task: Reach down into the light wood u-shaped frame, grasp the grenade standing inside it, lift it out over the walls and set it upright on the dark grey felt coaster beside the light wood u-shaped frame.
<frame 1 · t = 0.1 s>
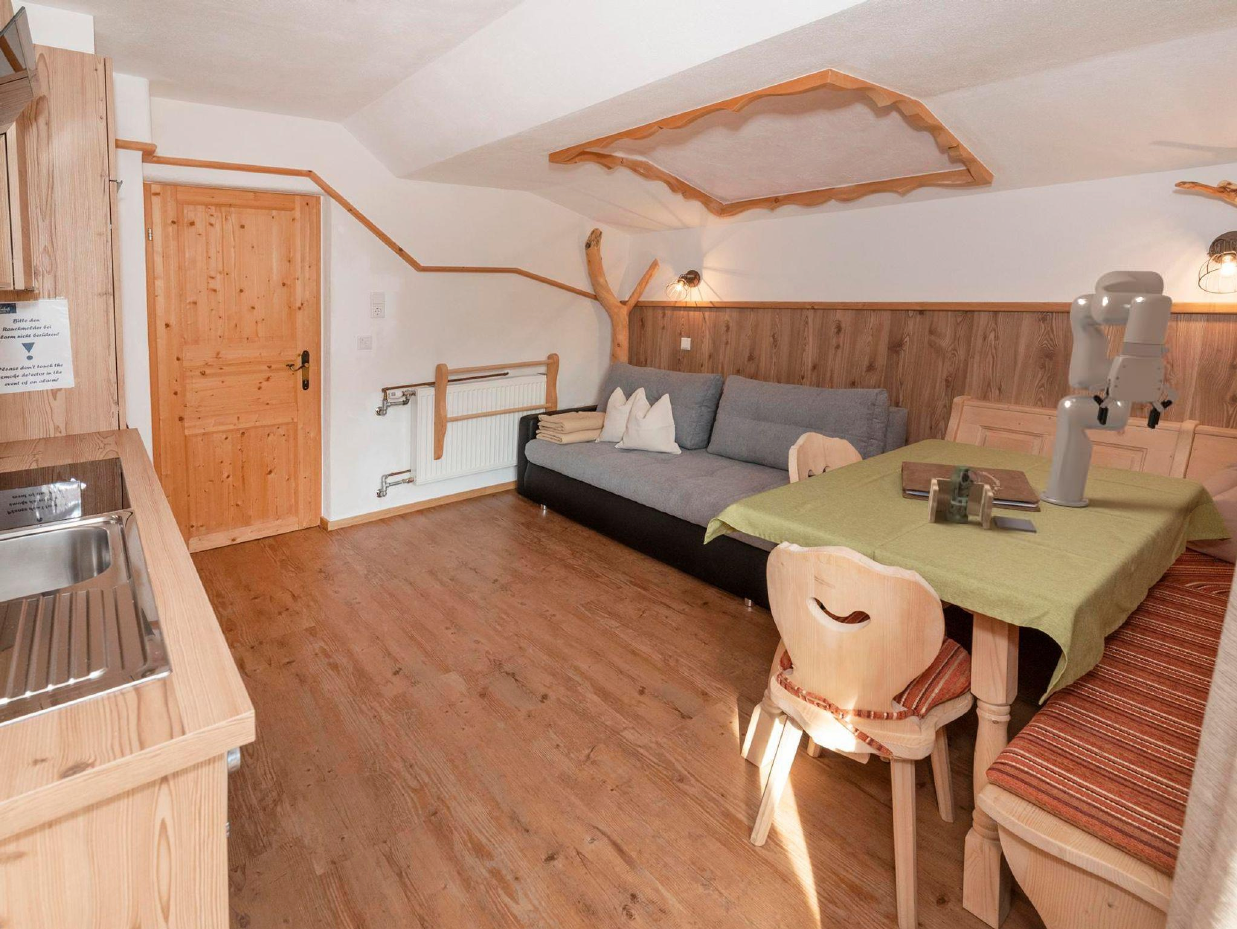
hand: (1126, 425, 168), 31 cm above the table, tool pointing down, fingers open, 9 cm apart
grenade: (957, 522, 197), on the table
light wood u-shaped frame: (957, 519, 198), on the table
coaster: (1014, 525, 195), on the table
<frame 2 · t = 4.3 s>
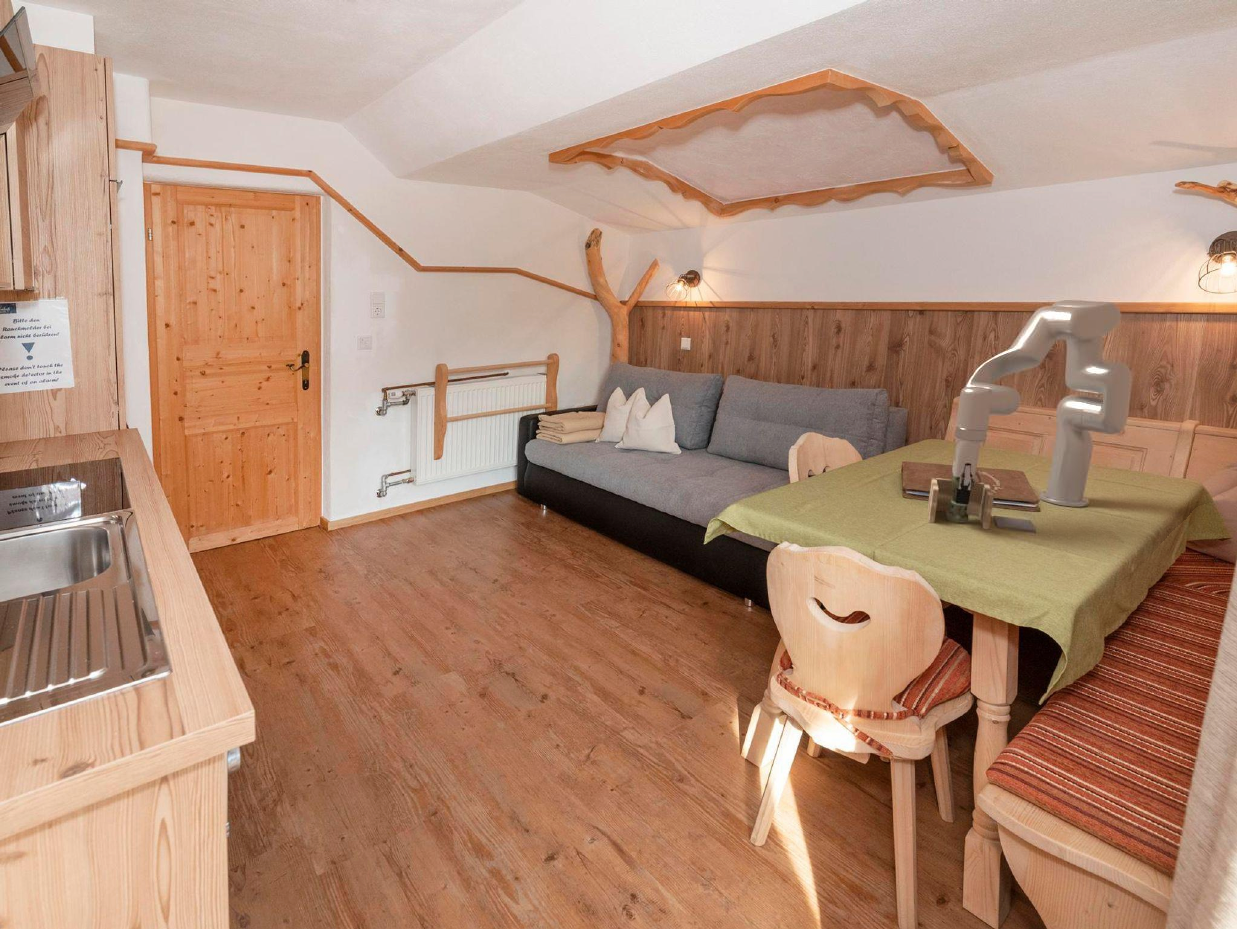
hand: (960, 499, 195), 6 cm above the table, tool pointing down, fingers closed on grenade, 6 cm apart
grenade: (957, 521, 197), on the table, touching gripper
when the fingers open (8 cm above the table, at t = 11.0 s): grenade drops 1 cm, resting on coaster.
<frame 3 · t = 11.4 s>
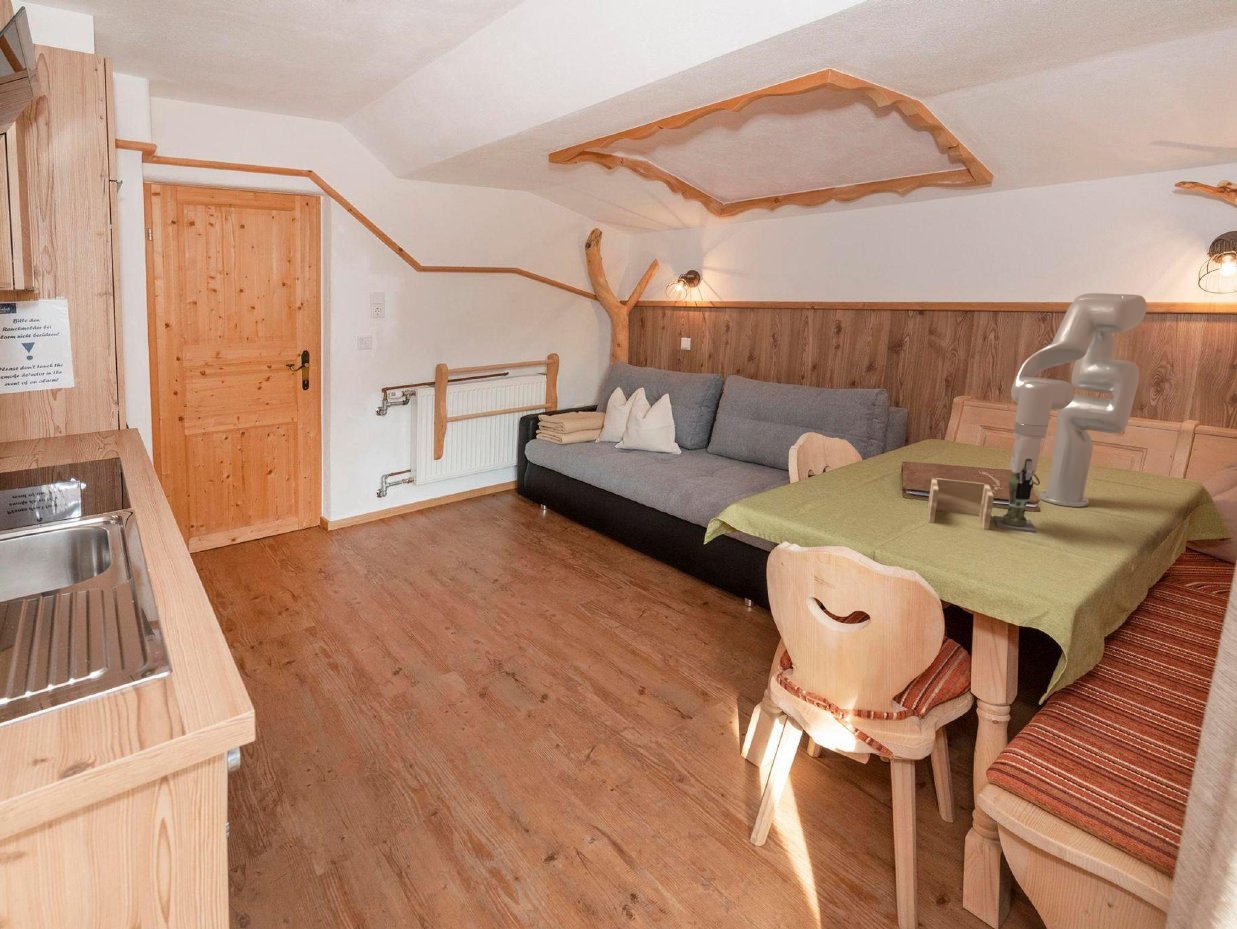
hand: (1019, 493, 192), 9 cm above the table, tool pointing down, fingers open, 9 cm apart
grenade: (1014, 524, 193), resting on coaster, touching gripper
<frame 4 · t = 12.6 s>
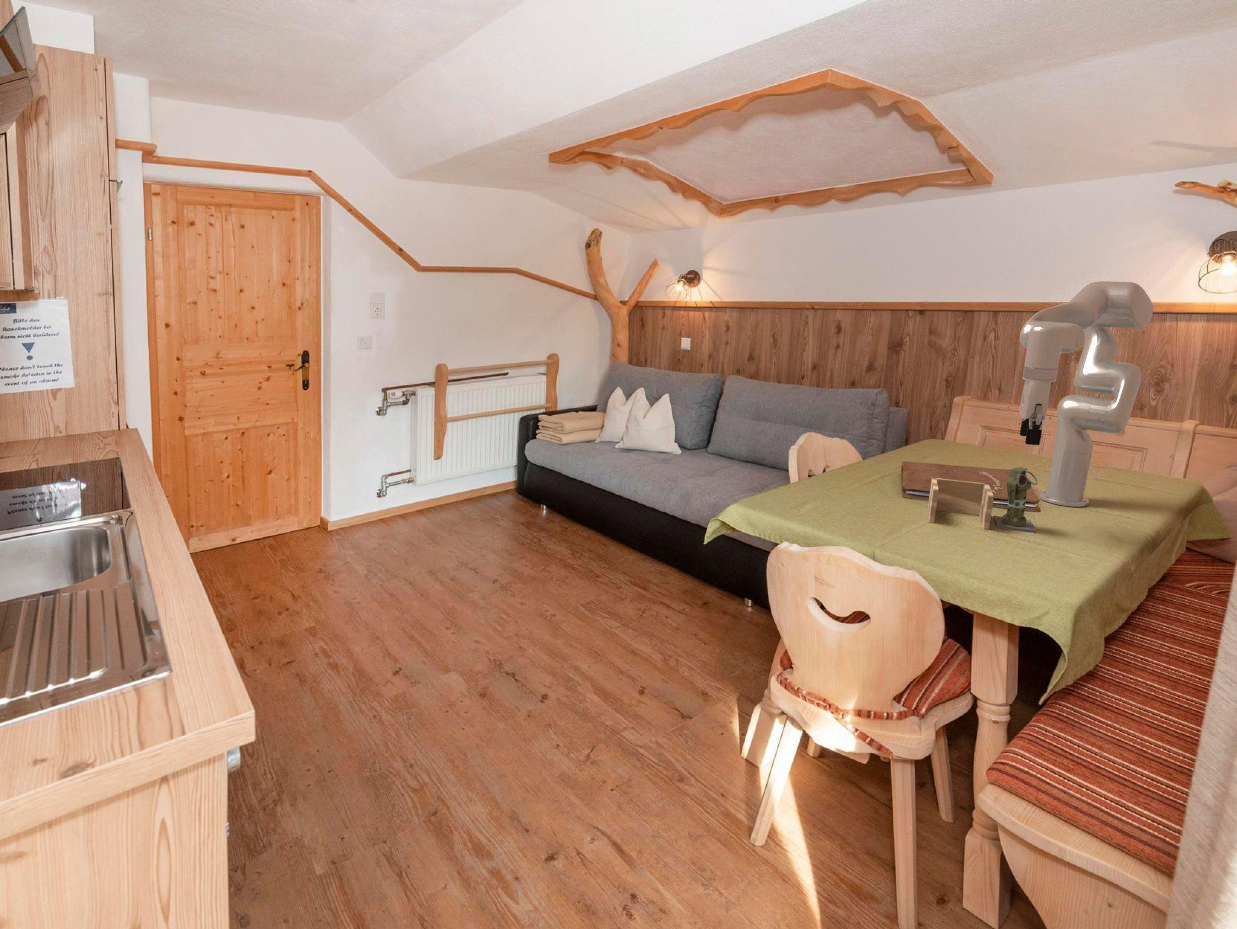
hand: (1029, 440, 189), 23 cm above the table, tool pointing down, fingers open, 9 cm apart
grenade: (1014, 524, 193), point 1 cm above the table, touching coaster
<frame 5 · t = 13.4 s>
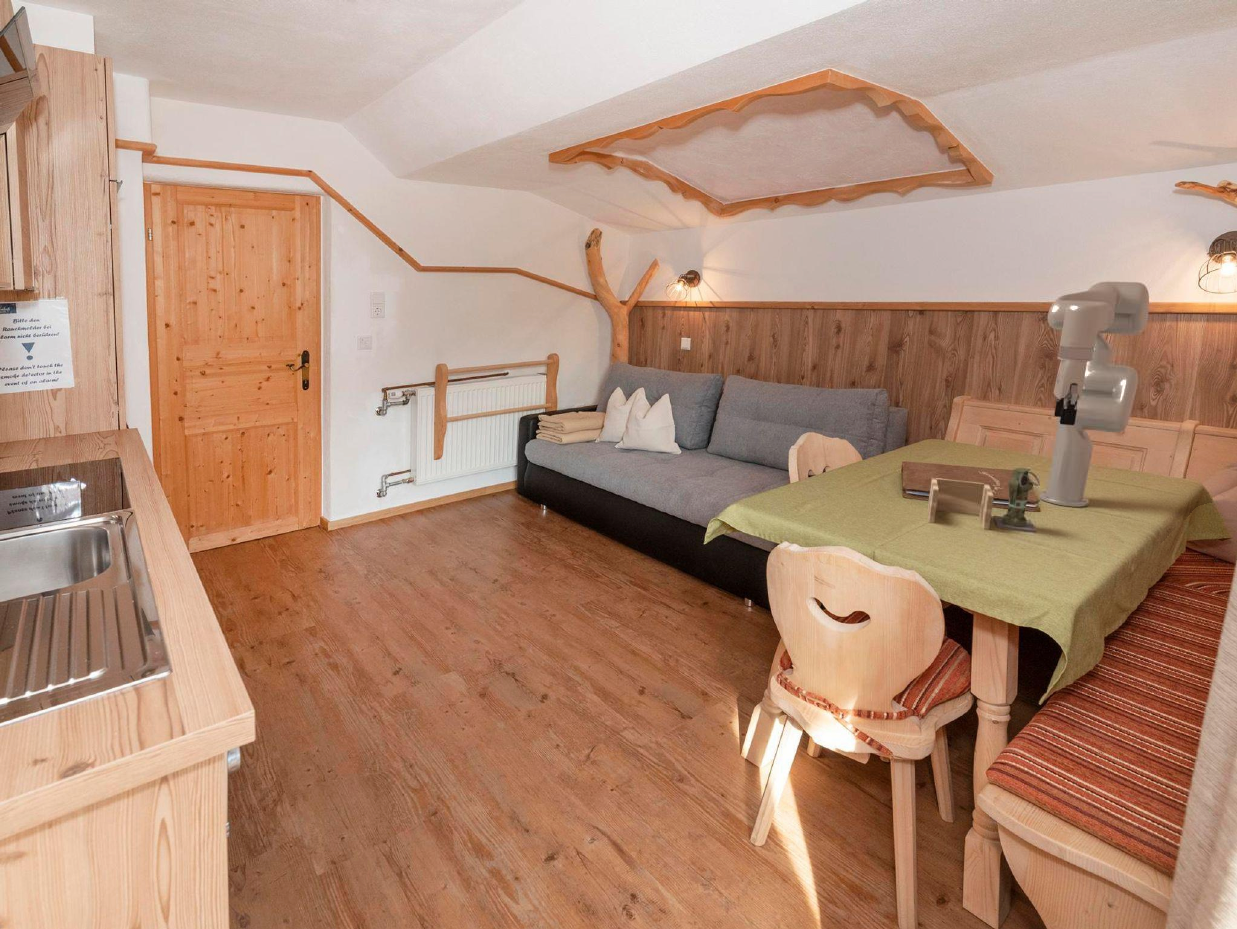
hand: (1063, 420, 188), 28 cm above the table, tool pointing down, fingers open, 9 cm apart
nothing on the table moved.
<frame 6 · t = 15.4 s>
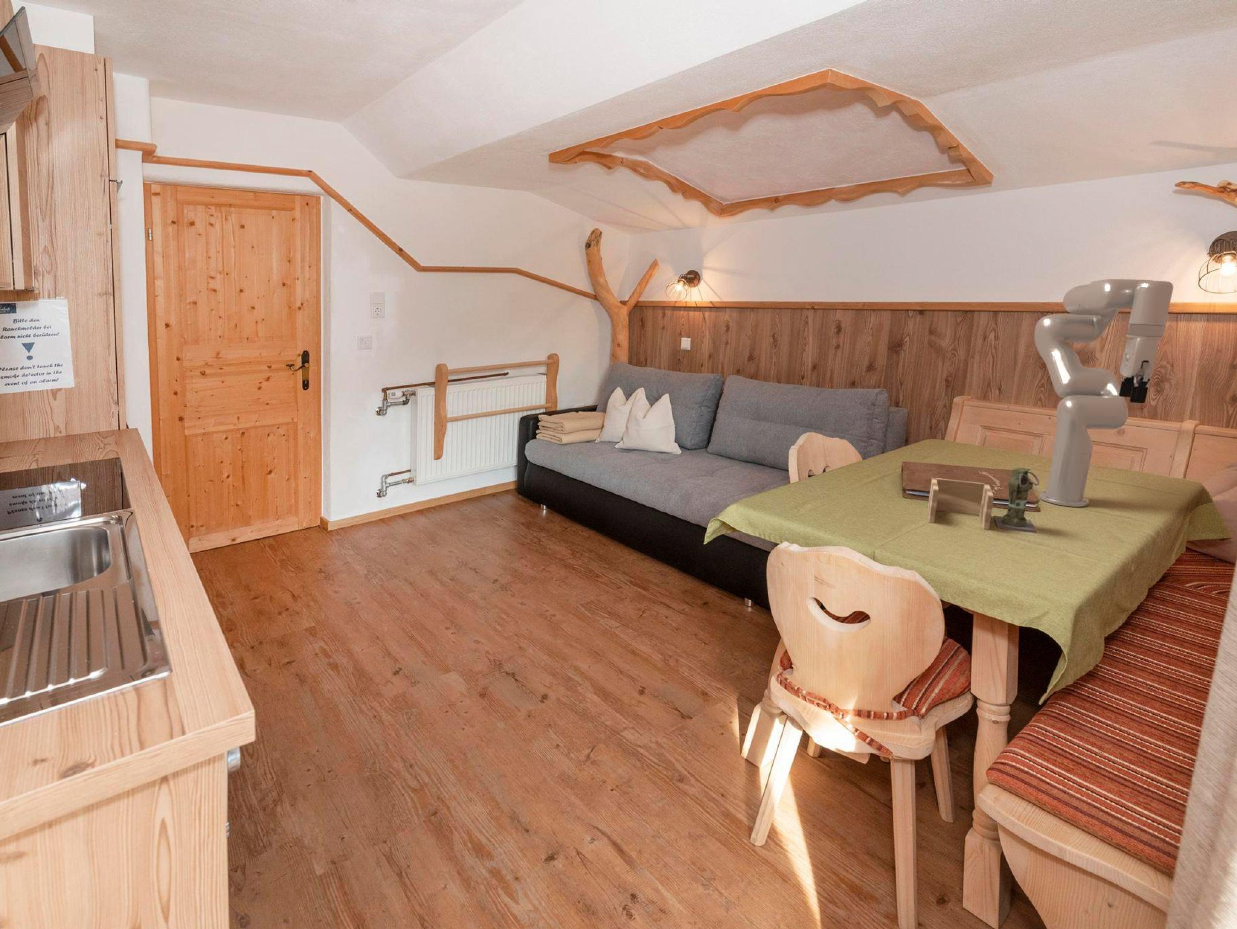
hand: (1131, 399, 186), 34 cm above the table, tool pointing down, fingers open, 9 cm apart
nothing on the table moved.
at the end: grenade 1.4 cm from the coaster (horizontally); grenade tilted 0°; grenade touching coaster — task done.
